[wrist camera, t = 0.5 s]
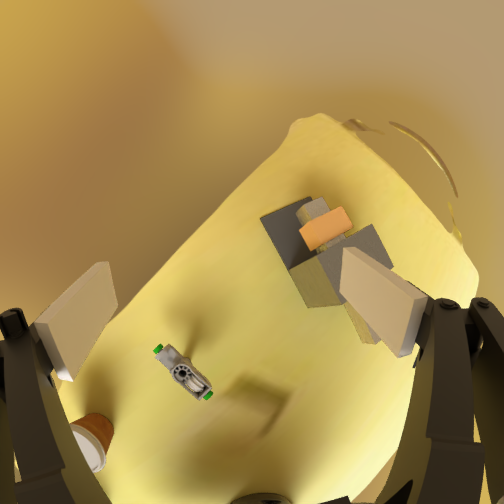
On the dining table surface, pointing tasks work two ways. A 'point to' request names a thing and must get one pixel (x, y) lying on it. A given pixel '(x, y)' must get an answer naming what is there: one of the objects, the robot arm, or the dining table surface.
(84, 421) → the disposable coffee cup
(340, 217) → the block
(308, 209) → the shaft
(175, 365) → the mechanical component
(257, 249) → the dining table surface
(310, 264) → the block
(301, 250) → the mat
